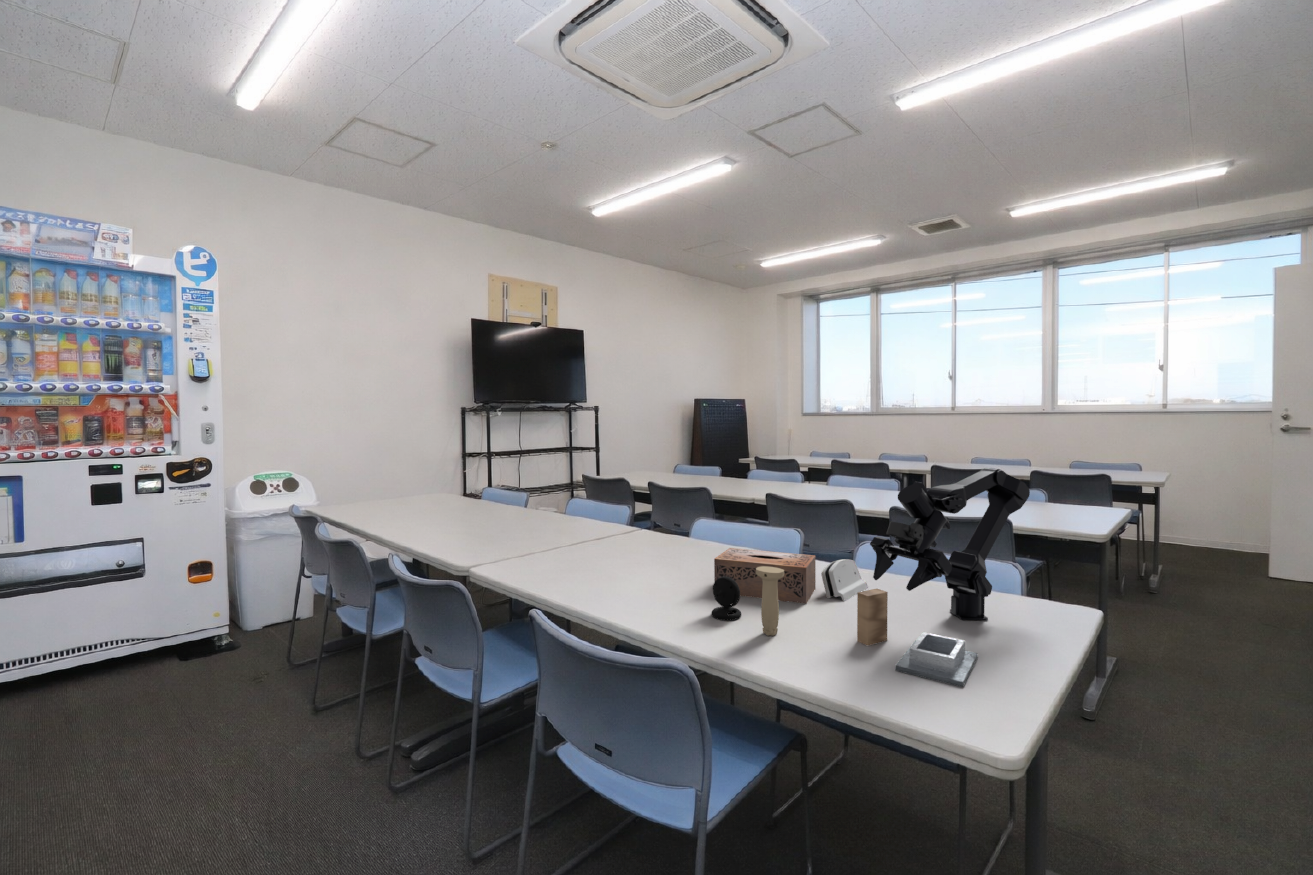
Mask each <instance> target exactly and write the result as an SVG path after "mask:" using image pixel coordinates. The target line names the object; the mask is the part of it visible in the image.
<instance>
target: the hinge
mask: <svg viewBox="0 0 1313 875" xmlns="http://www.w3.org/2000/svg"><path fill="white" fill-rule="evenodd" d="M821 579H822V582H823V586H824V591H825V595H826V598H827V597H828V599H831V598H833V597H835V598H837V597H841V601H843V602H846V601H848V600H849V599H852V598H853V597H854V595H855V596H857V592H861V591H865V590H866V589H869V585H868V583H867V581H866V580H864V579H863V578H862V576H861V573H860V571H859V568H858V566H857V564H856V561H855V560H854V559H853V560H852V559H848V558H846V559H845V558H844V559H838V560H834V561H832V562H829V563H828V564H826V566H825V567H824V568H823V570H822V571H821ZM864 589H865V590H864ZM852 596H853V597H852Z"/></svg>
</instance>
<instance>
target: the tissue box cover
mask: <svg viewBox="0 0 1313 875" xmlns="http://www.w3.org/2000/svg"><path fill="white" fill-rule="evenodd" d="M713 560H714V562H713V563H714V564H713V565H714V566H713V567H714V571H713V572H714V577H713V578H714V580H713V581H714V582H715V581H716V580H717V579H718V578H719V577H723V576H727V577H730V578H732V579H733V580H735V582H736V583H737V584H738V586H739V589H740V597H749V598H756V599H762V588H763V581H762V578H761V577H759V576H758V575H757V574H756V568H757V567H761V566H767V567H776V568H780V569H783V570H784V576H783V577H782V578H780V579H778V582H777V587H778V602H779V601H780V602H787V601H789V603H794V604H795V603H797V604H803V605H804V604H806V605H807V603H808V602H809V600H810V599H811V597H812V595H813V594H814V593H815V591H814V590H816V555H815V554H814V555H811V554H803V553H791V552H780V551H768V550H758V549H757V550H756V549H746V548H735V547H729V548H728V549H726V550H724V551H723V552H722V553H720V554H719V555H718V556H716V557H715V558H714V559H713ZM714 582H713V583H714Z"/></svg>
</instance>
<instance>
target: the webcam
mask: <svg viewBox="0 0 1313 875" xmlns="http://www.w3.org/2000/svg"><path fill="white" fill-rule="evenodd" d="M712 594H713V597H714V599H715V601H716V602H717V603H718V604H719V605H720V606H718V607H714V608H713V609H712V610H711V616H712V618H714V619H716V620H720V621H727V622H728V621H735V620H739V619H740V618H741V617H742V612H741V610H740V609H738V608H736V607H734V606H736V605H737V604H738V603H739V601H740V599H741V596H740V589H739V586H738V584H737V583H736V582H735V580H733V579H732V578H730V577H727V576H723V577H719V578H718V579H717V580H716V581H715V582H713V585H712ZM729 613H731V614H729Z"/></svg>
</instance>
